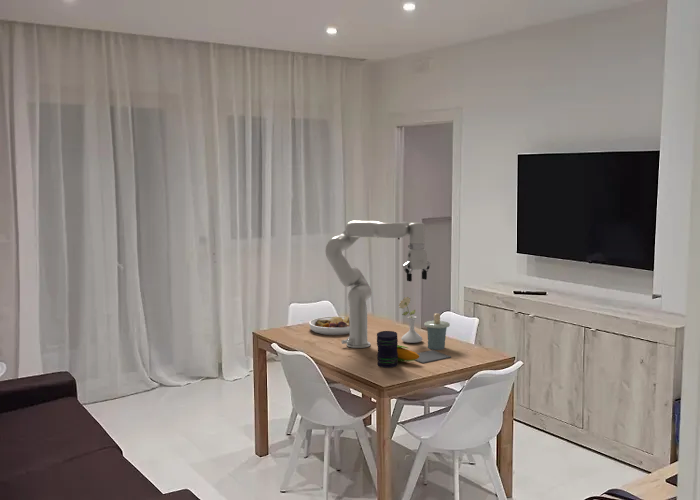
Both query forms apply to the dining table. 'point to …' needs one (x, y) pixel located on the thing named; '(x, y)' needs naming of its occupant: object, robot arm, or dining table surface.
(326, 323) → the bowl
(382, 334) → the storage jar
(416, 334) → the flower in vase
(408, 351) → the corn
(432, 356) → the mat
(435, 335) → the teal cup
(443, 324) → the lid
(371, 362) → the dining table surface
